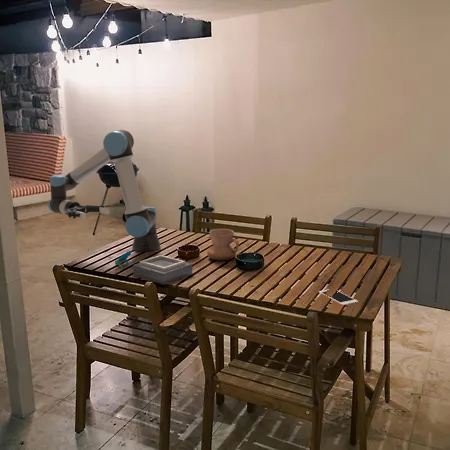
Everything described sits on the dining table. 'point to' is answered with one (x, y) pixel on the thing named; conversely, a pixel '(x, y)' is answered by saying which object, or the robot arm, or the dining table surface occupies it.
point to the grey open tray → (162, 269)
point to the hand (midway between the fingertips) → (97, 213)
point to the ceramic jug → (222, 244)
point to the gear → (123, 259)
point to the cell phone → (340, 298)
